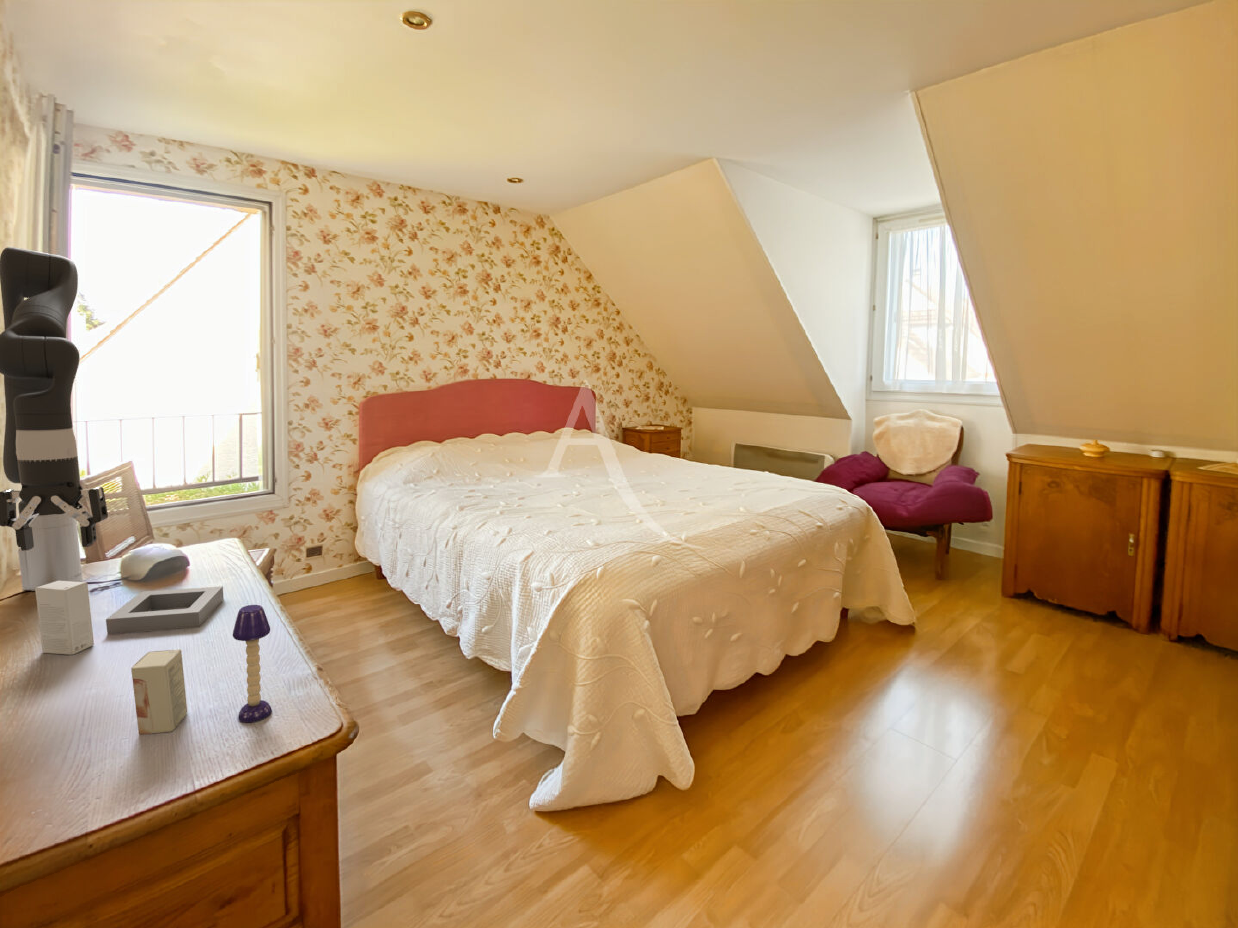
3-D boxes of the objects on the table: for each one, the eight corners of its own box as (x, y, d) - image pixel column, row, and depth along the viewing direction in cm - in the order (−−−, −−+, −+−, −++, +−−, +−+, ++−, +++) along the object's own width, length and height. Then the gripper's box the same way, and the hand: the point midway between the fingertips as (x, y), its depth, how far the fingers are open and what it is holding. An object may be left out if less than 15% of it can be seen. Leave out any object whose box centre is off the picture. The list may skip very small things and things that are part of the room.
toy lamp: (281, 707, 92) (275, 601, 89) (264, 724, 87) (257, 614, 85) (248, 707, 92) (242, 601, 89) (230, 724, 87) (222, 613, 84)
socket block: (107, 634, 114) (105, 619, 114) (142, 605, 129) (141, 591, 128) (199, 626, 119) (198, 612, 119) (223, 599, 133) (222, 586, 133)
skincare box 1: (95, 645, 110) (89, 581, 108) (72, 655, 106) (65, 590, 104) (65, 642, 111) (58, 579, 109) (40, 653, 106) (33, 587, 105)
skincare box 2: (154, 715, 89) (149, 650, 87) (188, 712, 90) (183, 648, 88) (135, 736, 84) (129, 667, 82) (171, 732, 85) (166, 664, 83)
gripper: (109, 452, 109) (117, 539, 111) (9, 453, 105) (20, 544, 107) (87, 457, 102) (96, 551, 104) (-21, 459, 98) (-8, 556, 100)
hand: (58, 547), depth 106 cm, fingers open, 8 cm apart
